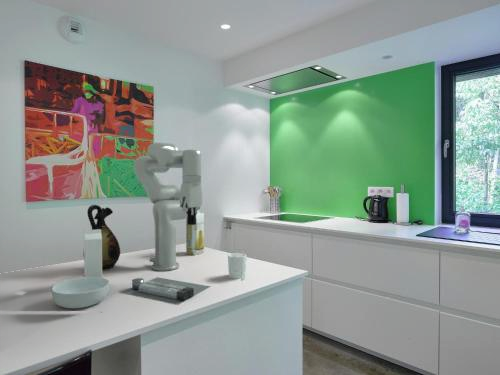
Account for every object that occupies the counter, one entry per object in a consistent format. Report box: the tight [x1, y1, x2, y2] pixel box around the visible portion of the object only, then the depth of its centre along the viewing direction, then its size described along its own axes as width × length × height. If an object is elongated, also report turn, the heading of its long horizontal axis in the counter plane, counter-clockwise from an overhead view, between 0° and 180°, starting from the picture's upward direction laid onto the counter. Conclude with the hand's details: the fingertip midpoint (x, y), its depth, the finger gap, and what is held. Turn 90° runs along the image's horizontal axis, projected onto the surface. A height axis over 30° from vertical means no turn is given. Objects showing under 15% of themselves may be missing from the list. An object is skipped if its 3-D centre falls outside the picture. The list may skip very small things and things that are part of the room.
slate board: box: [119, 277, 211, 306], centre depth 120 cm, size 26×20×1 cm
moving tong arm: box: [131, 277, 195, 299], centre depth 117 cm, size 25×5×3 cm, turn 64°
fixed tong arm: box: [139, 283, 189, 302], centre depth 114 cm, size 20×3×3 cm, turn 65°
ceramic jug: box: [83, 204, 121, 271], centre depth 148 cm, size 17×15×30 cm
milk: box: [83, 229, 103, 278], centre depth 126 cm, size 6×6×22 cm
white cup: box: [227, 252, 248, 281], centre depth 137 cm, size 8×8×10 cm
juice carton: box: [185, 210, 205, 256], centre depth 182 cm, size 9×8×24 cm
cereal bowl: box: [51, 277, 111, 310], centre depth 107 cm, size 17×17×7 cm
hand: (191, 224), depth 134 cm, fingers closed
